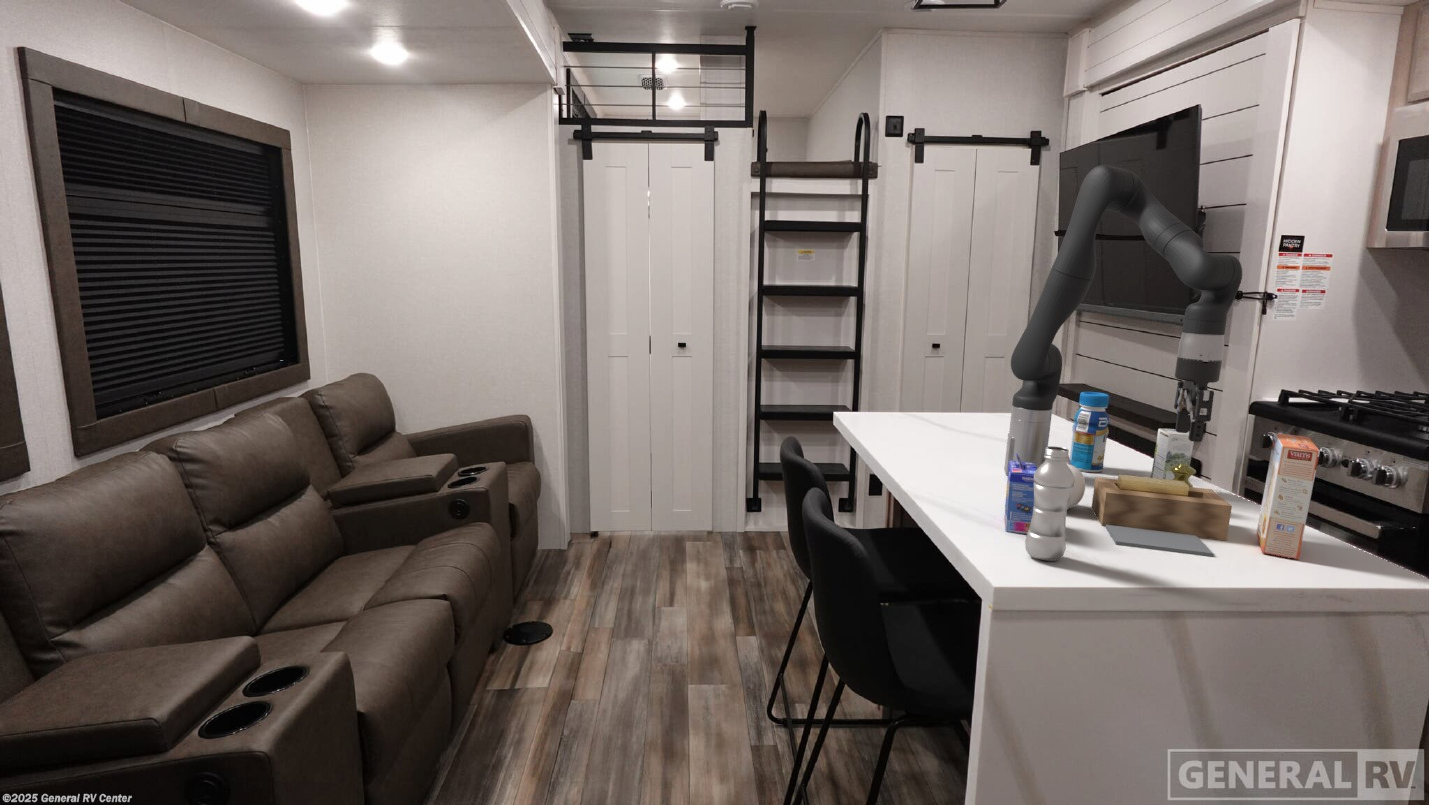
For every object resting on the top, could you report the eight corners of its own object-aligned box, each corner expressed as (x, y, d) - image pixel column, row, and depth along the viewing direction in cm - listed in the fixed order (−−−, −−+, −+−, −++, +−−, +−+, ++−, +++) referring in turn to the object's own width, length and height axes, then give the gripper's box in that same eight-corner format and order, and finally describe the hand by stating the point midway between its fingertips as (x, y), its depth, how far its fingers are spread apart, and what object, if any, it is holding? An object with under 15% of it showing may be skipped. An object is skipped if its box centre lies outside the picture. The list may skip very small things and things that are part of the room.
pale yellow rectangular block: (1118, 507, 156) (1122, 479, 155) (1114, 502, 160) (1118, 474, 159) (1184, 515, 152) (1189, 486, 151) (1179, 509, 156) (1183, 481, 155)
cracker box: (1301, 561, 138) (1321, 449, 134) (1260, 554, 141) (1279, 444, 137) (1292, 539, 149) (1311, 436, 146) (1255, 533, 152) (1273, 431, 149)
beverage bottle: (1063, 463, 203) (1072, 390, 200) (1096, 466, 202) (1106, 392, 198) (1073, 472, 195) (1083, 395, 191) (1108, 474, 194) (1118, 397, 190)
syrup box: (1173, 486, 184) (1182, 428, 182) (1186, 494, 179) (1195, 433, 176) (1149, 485, 185) (1157, 427, 182) (1160, 492, 179) (1169, 432, 177)
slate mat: (1115, 544, 143) (1116, 541, 143) (1105, 527, 152) (1105, 524, 152) (1212, 556, 139) (1213, 553, 138) (1195, 538, 148) (1196, 535, 148)
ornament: (1081, 505, 167) (1088, 452, 165) (1082, 518, 158) (1089, 462, 155) (1031, 498, 171) (1037, 446, 169) (1029, 510, 162) (1035, 456, 160)
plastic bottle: (1016, 551, 138) (1029, 444, 134) (1052, 551, 138) (1065, 444, 135) (1034, 565, 131) (1047, 453, 128) (1071, 565, 132) (1086, 453, 128)
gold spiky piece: (1199, 508, 167) (1206, 465, 166) (1192, 516, 162) (1199, 470, 160) (1162, 501, 172) (1168, 458, 171) (1153, 507, 167) (1160, 463, 165)
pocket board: (1101, 525, 154) (1106, 492, 152) (1091, 508, 165) (1095, 477, 164) (1226, 540, 147) (1232, 506, 146) (1206, 521, 159) (1211, 489, 157)
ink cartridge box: (1002, 516, 157) (1009, 448, 155) (1031, 520, 155) (1039, 451, 153) (1003, 531, 148) (1011, 459, 145) (1034, 536, 146) (1042, 463, 144)
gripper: (1167, 351, 157) (1157, 428, 160) (1189, 359, 144) (1177, 442, 147) (1208, 354, 155) (1197, 431, 158) (1234, 361, 142) (1221, 446, 145)
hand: (1188, 436), depth 153 cm, fingers open, 8 cm apart
